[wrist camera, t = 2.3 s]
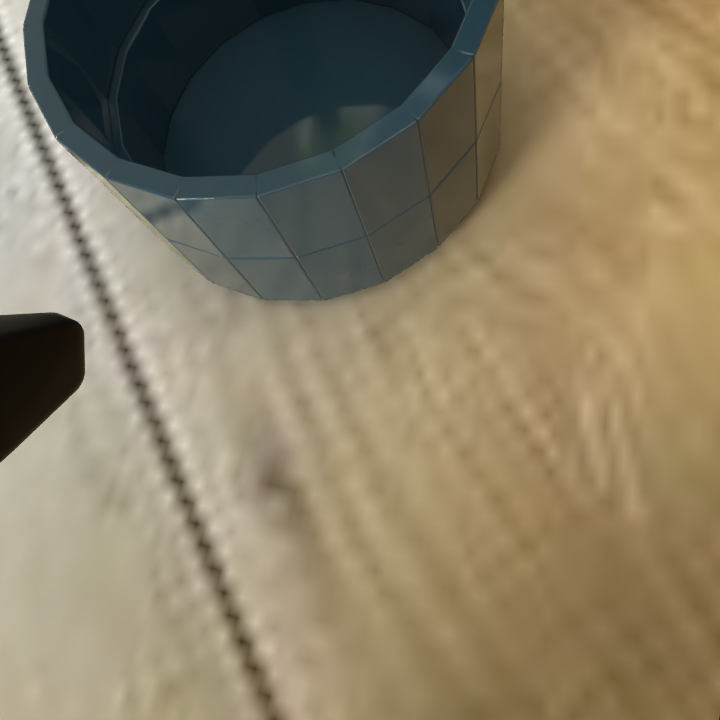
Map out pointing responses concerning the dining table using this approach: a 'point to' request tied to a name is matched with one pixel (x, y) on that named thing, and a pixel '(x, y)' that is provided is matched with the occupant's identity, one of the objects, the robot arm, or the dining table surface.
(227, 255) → the bowl
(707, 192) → the dining table surface
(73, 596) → the dining table surface
